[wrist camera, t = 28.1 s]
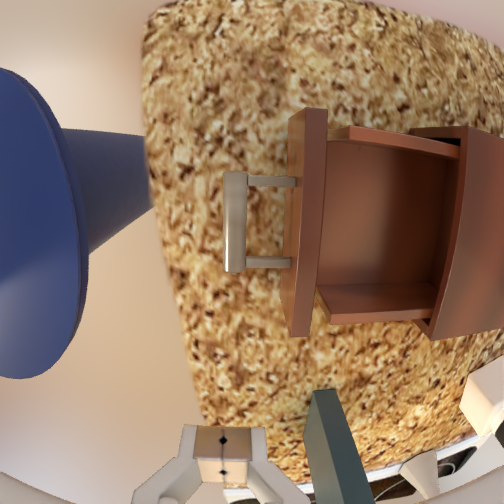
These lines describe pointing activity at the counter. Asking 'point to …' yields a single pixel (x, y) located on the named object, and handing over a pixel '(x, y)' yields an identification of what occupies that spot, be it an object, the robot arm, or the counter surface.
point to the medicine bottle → (486, 399)
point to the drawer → (353, 222)
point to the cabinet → (471, 238)
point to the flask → (423, 474)
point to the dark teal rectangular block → (333, 454)
